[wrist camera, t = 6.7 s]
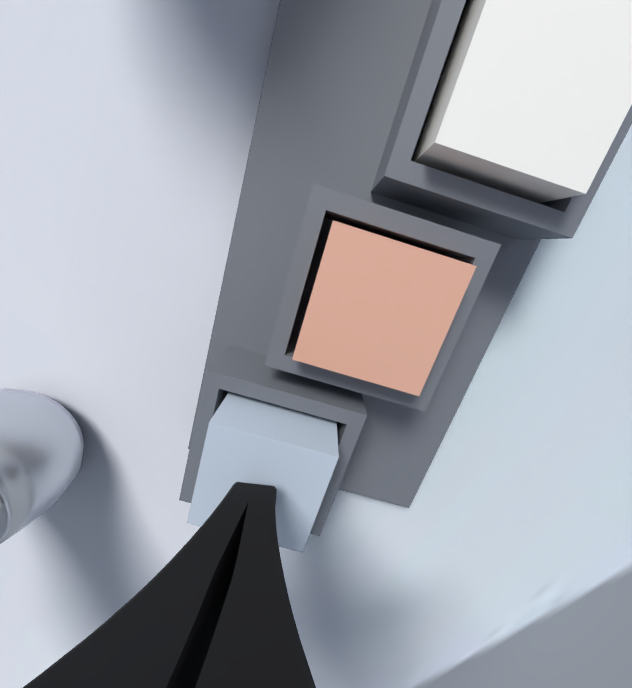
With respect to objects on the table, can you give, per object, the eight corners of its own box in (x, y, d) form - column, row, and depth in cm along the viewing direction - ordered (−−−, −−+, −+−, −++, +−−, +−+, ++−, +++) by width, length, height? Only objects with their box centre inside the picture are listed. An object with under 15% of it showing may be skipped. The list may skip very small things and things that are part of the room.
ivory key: (599, 56, 10) (687, -7, 7) (529, 205, 11) (585, 193, 9) (465, 6, 9) (513, -75, 7) (410, 165, 11) (434, 142, 8)
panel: (606, 78, 12) (731, 3, 8) (404, 498, 18) (425, 563, 14) (294, -36, 11) (278, -174, 7) (193, 441, 17) (158, 494, 13)
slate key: (336, 418, 13) (338, 457, 10) (306, 500, 14) (302, 552, 12) (231, 388, 13) (209, 422, 10) (210, 475, 14) (186, 523, 12)
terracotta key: (445, 261, 12) (476, 266, 9) (401, 368, 13) (418, 396, 11) (331, 225, 11) (332, 220, 9) (298, 338, 13) (291, 359, 10)
